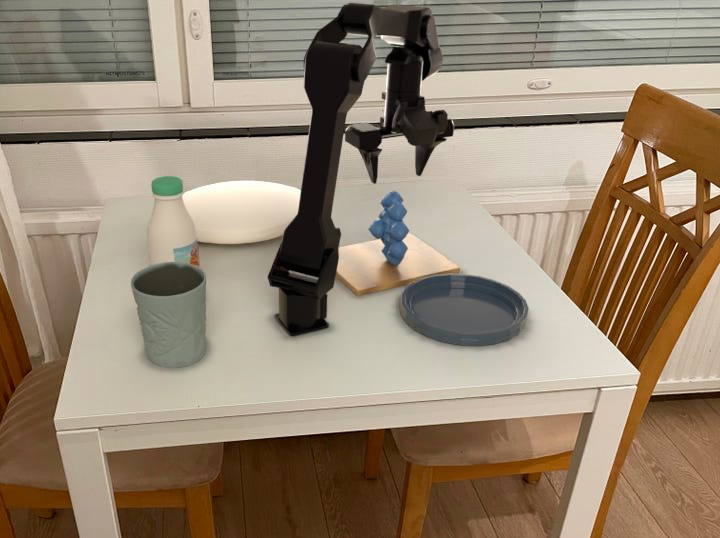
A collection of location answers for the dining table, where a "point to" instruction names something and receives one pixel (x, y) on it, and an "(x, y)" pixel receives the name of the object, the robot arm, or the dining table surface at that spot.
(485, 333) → the round blue tray
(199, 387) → the dining table surface
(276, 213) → the plate
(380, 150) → the robot arm
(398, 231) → the grapes
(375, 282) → the bamboo board
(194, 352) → the green plant pot
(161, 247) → the milk bottle
